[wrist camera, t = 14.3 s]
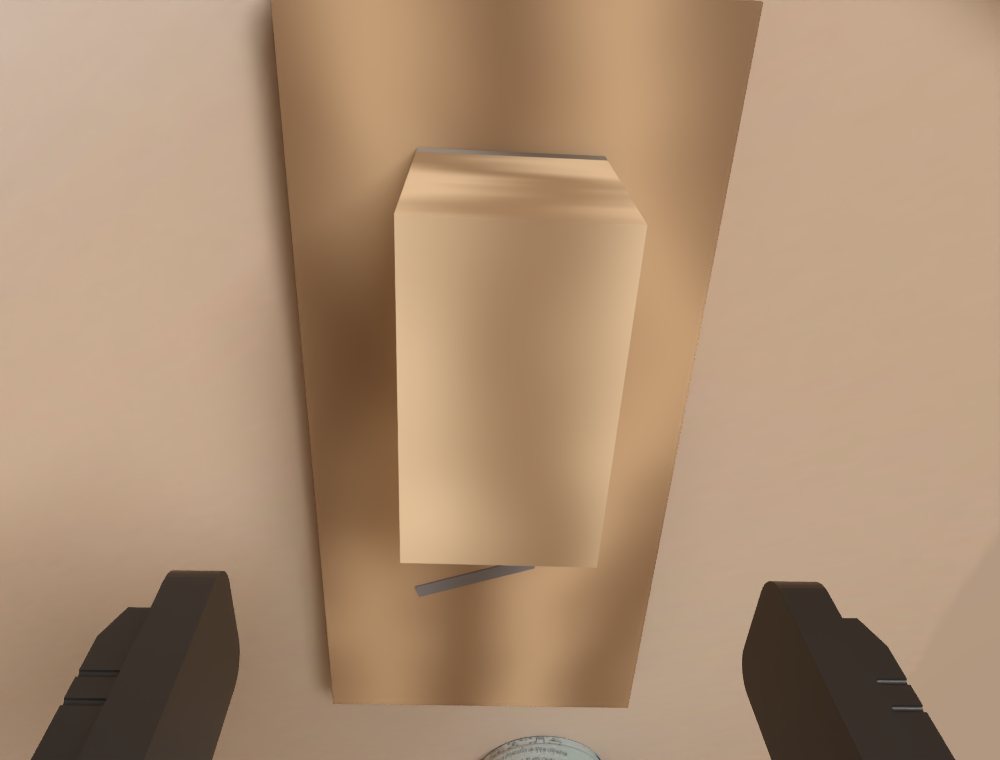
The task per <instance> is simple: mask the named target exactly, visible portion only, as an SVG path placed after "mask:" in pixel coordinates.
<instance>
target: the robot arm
mask: <svg viewBox="0 0 1000 760" xmlns="http://www.w3.org/2000/svg"><path fill="white" fill-rule="evenodd" d="M239 656H240V648H239V638H238V632H237V626H236V620H235V614H234V608H233V602H232V595H231V589H230V583H229V578H228V575H227V573H226V572H225V571H178V570H173V571H170V572H169V573H168V574H167V576H166V577H165V579H164V581H163V583H162V585H161V587H160V589H159V591H158V593H157V595H156V597H155V600H154V602H153V604H152V606H151V608H134V607H128V608H127V609H126V610H125V611H124V612H123V613H122V614H120V615H119V616H118V617H117V618H116V619H115V620H114V621H113V622H112V623H111V624H110V625H109V626H108V627H107V628H106V629H105V630H103V631H102V632H101V633H100V634H99V635H98V636H97V638H96V640H95V641H94V643H93V645H92V647H91V649H90V651H89V653H88V655H87V656H86V658H85V660H84V662H83V664H82V666H81V668H80V669H79V676H78V677H75V679H74V681H73V682H72V684H71V686H70V688H69V690H68V692H67V694H66V695H65V697H64V704H63V705H60V707H59V708H58V710H57V712H56V714H55V716H54V718H53V720H52V721H51V723H50V725H49V727H48V729H47V731H46V733H45V734H44V736H43V738H42V740H41V742H40V744H39V746H38V748H37V749H36V751H35V753H34V755H33V757H32V759H31V760H212V758H213V755H214V751H215V748H216V745H217V742H218V739H219V735H220V732H221V729H222V726H223V723H224V720H225V716H226V713H227V710H228V707H229V704H230V701H231V697H232V694H233V691H234V688H235V684H236V680H237V674H238V668H239ZM742 671H743V680H744V685H745V689H746V692H747V695H748V698H749V701H750V703H751V706H752V709H753V711H754V714H755V717H756V719H757V722H758V725H759V727H760V730H761V733H762V736H763V738H764V741H765V744H766V746H767V749H768V752H769V754H770V757H771V760H955V759H954V757H953V756H952V754H951V752H950V750H949V749H948V747H947V746H946V744H945V742H944V740H943V739H942V737H941V735H940V734H939V732H938V730H937V729H936V727H935V725H934V724H933V722H932V720H931V719H930V717H929V715H928V713H927V712H923V709H922V706H923V705H922V704H921V702H920V700H919V698H918V697H917V695H916V693H915V692H914V690H913V689H912V687H911V685H907V682H906V679H907V678H906V677H905V675H904V673H903V672H902V670H901V668H900V667H899V665H898V663H897V662H896V660H895V658H894V657H893V655H892V653H891V652H890V650H889V648H888V647H887V646H886V645H885V644H884V643H883V642H882V641H881V640H880V639H879V638H878V637H877V636H876V635H875V634H873V633H872V632H871V631H870V630H869V629H868V628H867V627H866V626H865V625H864V624H863V623H862V622H861V621H860V620H858V619H857V618H842V617H841V615H840V613H839V611H838V610H837V608H836V606H835V604H834V602H833V601H832V599H831V597H830V595H829V593H828V592H827V590H826V589H825V587H824V586H823V585H822V584H820V583H818V582H780V581H769V582H767V583H766V584H765V585H764V587H763V589H762V591H761V594H760V598H759V601H758V604H757V607H756V610H755V614H754V617H753V620H752V623H751V627H750V630H749V633H748V636H747V640H746V643H745V646H744V650H743V656H742Z"/></svg>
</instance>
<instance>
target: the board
mask: <svg viewBox="0 0 1000 760" xmlns="http://www.w3.org/2000/svg"><path fill="white" fill-rule="evenodd" d="M762 5H763V2H761V1H754V0H271V10H272V21H273V33H274V44H275V55H276V66H277V77H278V89H279V100H280V111H281V122H282V133H283V145H284V156H285V167H286V178H287V189H288V201H289V212H290V223H291V234H292V245H293V256H294V268H295V279H296V290H297V301H298V312H299V324H300V335H301V346H302V357H303V368H304V380H305V391H306V402H307V413H308V424H309V436H310V447H311V458H312V469H313V480H314V491H315V503H316V514H317V525H318V536H319V547H320V559H321V570H322V581H323V592H324V603H325V615H326V626H327V637H328V648H329V659H330V671H331V682H332V693H333V704H400V705H469V706H538V707H607V708H628V704H629V699H630V694H631V689H632V684H633V678H634V673H635V668H636V663H637V657H638V652H639V647H640V642H641V637H642V631H643V626H644V621H645V616H646V611H647V605H648V600H649V595H650V590H651V584H652V579H653V574H654V569H655V564H656V558H657V553H658V548H659V543H660V537H661V532H662V527H663V522H664V517H665V511H666V506H667V501H668V496H669V491H670V485H671V480H672V475H673V470H674V464H675V459H676V454H677V449H678V444H679V438H680V433H681V428H682V423H683V417H684V412H685V407H686V402H687V397H688V391H689V386H690V381H691V376H692V371H693V365H694V360H695V355H696V350H697V344H698V339H699V334H700V329H701V324H702V318H703V313H704V308H705V303H706V297H707V292H708V287H709V282H710V277H711V271H712V266H713V261H714V256H715V251H716V245H717V240H718V235H719V230H720V224H721V219H722V214H723V209H724V204H725V198H726V193H727V188H728V183H729V177H730V172H731V167H732V162H733V157H734V151H735V146H736V141H737V136H738V131H739V125H740V120H741V115H742V110H743V104H744V99H745V94H746V89H747V84H748V78H749V73H750V68H751V63H752V58H753V52H754V47H755V42H756V37H757V31H758V26H759V21H760V16H761V11H762ZM417 147H419V148H440V149H462V150H483V151H504V152H526V153H547V154H568V155H590V156H605V157H606V159H607V160H608V162H609V163H610V165H611V167H612V168H613V170H614V171H615V173H616V175H617V176H618V178H619V180H620V181H621V183H622V184H623V186H624V188H625V189H626V191H627V193H628V194H629V196H630V197H631V199H632V201H633V202H634V204H635V206H636V207H637V209H638V210H639V212H640V214H641V215H642V217H643V219H644V220H645V222H646V223H647V231H646V238H645V245H644V251H643V258H642V265H641V272H640V278H639V285H638V292H637V299H636V306H635V312H634V319H633V326H632V333H631V339H630V346H629V353H628V360H627V367H626V373H625V380H624V387H623V394H622V400H621V407H620V414H619V421H618V428H617V434H616V441H615V448H614V455H613V461H612V468H611V475H610V482H609V488H608V495H607V502H606V509H605V516H604V522H603V529H602V536H601V543H600V549H599V556H598V563H597V568H588V567H548V566H507V565H466V564H426V563H400V521H399V465H398V409H397V353H396V297H395V240H394V213H395V210H396V207H397V204H398V201H399V198H400V196H401V193H402V190H403V187H404V184H405V181H406V178H407V176H408V173H409V170H410V167H411V164H412V161H413V159H414V156H415V153H416V150H417Z"/></svg>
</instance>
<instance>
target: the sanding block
mask: <svg viewBox="0 0 1000 760" xmlns="http://www.w3.org/2000/svg"><path fill="white" fill-rule="evenodd" d="M646 231H647V223H646V222H645V220H644V219H643V217H642V215H641V214H640V212H639V210H638V209H637V207H636V206H635V204H634V202H633V201H632V199H631V197H630V196H629V194H628V193H627V191H626V189H625V188H624V186H623V184H622V183H621V181H620V180H619V178H618V176H617V175H616V173H615V171H614V170H613V168H612V167H611V165H610V163H609V162H608V160H607V159H606V157H605V156H590V155H568V154H547V153H526V152H504V151H483V150H462V149H440V148H419V147H417V150H416V153H415V156H414V159H413V161H412V164H411V167H410V170H409V173H408V176H407V178H406V181H405V184H404V187H403V190H402V193H401V196H400V198H399V201H398V204H397V207H396V210H395V213H394V240H395V297H396V353H397V409H398V465H399V521H400V563H426V564H466V565H507V566H548V567H588V568H597V563H598V556H599V549H600V543H601V536H602V529H603V522H604V516H605V509H606V502H607V495H608V488H609V482H610V475H611V468H612V461H613V455H614V448H615V441H616V434H617V428H618V421H619V414H620V407H621V400H622V394H623V387H624V380H625V373H626V367H627V360H628V353H629V346H630V339H631V333H632V326H633V319H634V312H635V306H636V299H637V292H638V285H639V278H640V272H641V265H642V258H643V251H644V245H645V238H646Z"/></svg>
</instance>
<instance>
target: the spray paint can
mask: <svg viewBox="0 0 1000 760" xmlns="http://www.w3.org/2000/svg"><path fill="white" fill-rule="evenodd" d="M484 760H600V759H599V757H598V756H597V755H596V754H595V753H594V752H593V751H592V750H590V749H589V748H587V747H586V746H584V745H582V744H580V743H577V742H575V741H572V740H568V739H564V738H559V737H548V736H539V737H529V738H523V739H519V740H515V741H512V742H509V743H507V744H504V745H502V746H500V747H498V748H497V749H495V750H494V751H492V752H491V753H490V754H488V755H487V756H486V757H485V758H484Z"/></svg>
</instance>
